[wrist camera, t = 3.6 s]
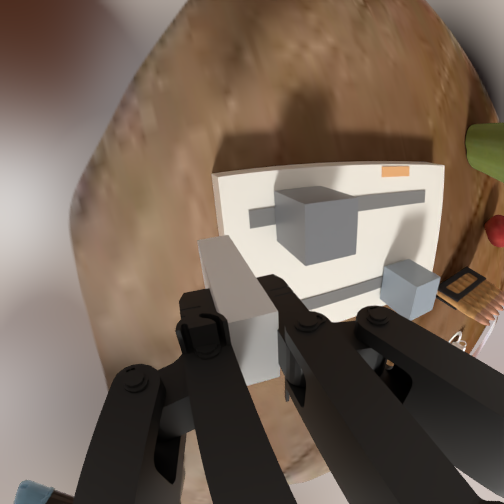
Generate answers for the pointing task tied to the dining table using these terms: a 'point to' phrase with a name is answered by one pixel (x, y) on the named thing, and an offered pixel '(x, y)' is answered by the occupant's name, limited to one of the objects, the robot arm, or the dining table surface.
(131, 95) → the dining table surface
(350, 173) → the switch panel
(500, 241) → the onion
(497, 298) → the ammunition clip
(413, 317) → the tab back
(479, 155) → the plant pot
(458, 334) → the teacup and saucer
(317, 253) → the tab front
